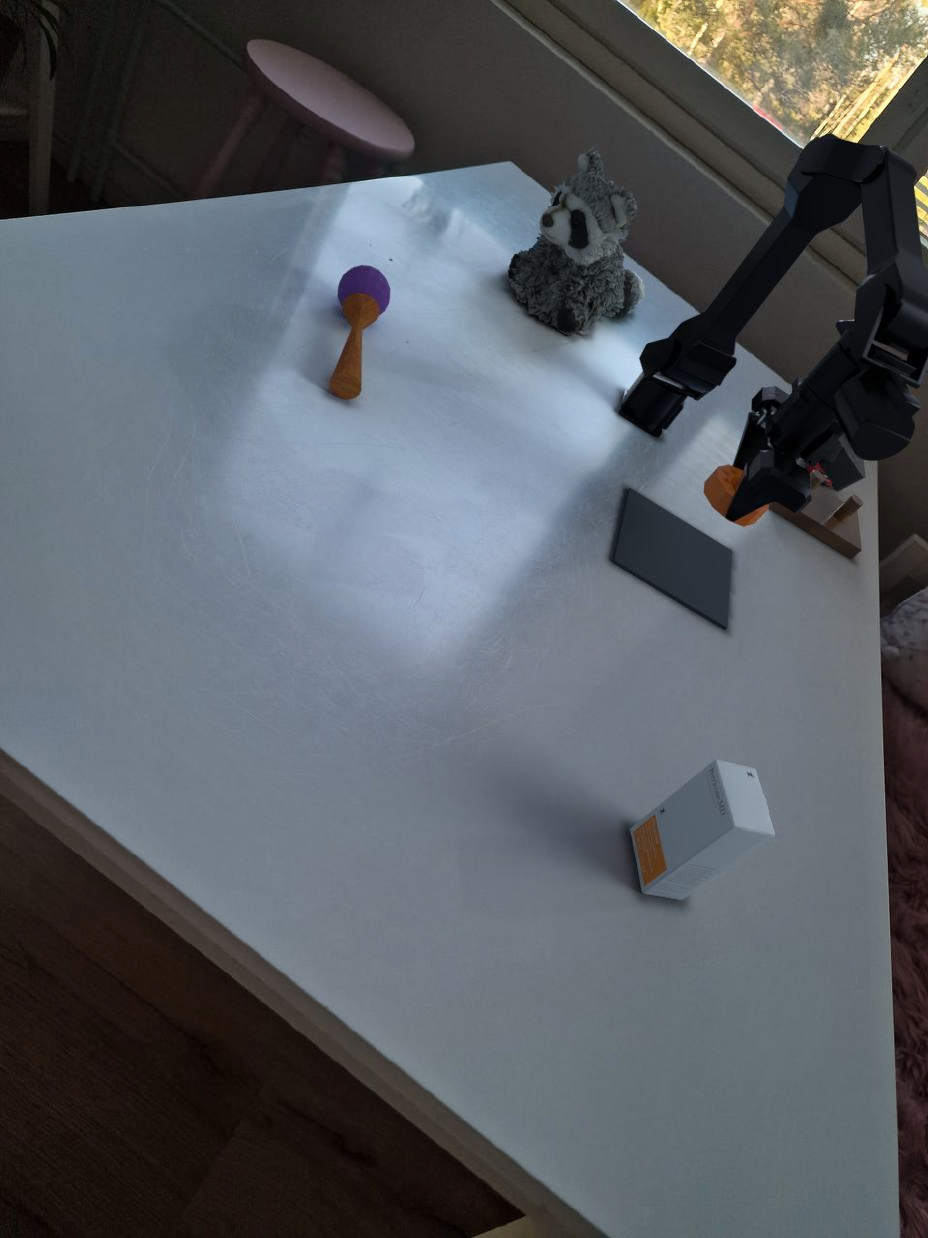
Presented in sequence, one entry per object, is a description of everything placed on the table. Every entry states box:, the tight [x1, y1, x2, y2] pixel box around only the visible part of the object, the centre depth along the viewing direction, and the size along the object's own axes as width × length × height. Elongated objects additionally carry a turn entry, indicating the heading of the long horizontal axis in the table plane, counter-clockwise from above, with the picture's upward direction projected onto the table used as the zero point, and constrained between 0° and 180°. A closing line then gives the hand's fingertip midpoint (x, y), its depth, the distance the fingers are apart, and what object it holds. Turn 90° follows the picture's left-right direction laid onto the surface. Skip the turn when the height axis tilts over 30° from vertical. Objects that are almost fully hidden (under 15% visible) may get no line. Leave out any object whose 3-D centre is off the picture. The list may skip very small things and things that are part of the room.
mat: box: [612, 487, 733, 630], centre depth 115 cm, size 15×15×1 cm
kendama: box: [329, 264, 391, 401], centre depth 108 cm, size 6×6×20 cm
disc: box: [703, 464, 770, 528], centre depth 109 cm, size 7×7×2 cm
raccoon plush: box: [507, 146, 646, 337], centre depth 138 cm, size 15×32×21 cm, turn 145°
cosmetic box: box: [629, 759, 776, 901], centre depth 79 cm, size 6×4×12 cm
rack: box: [768, 470, 864, 560], centre depth 137 cm, size 14×10×6 cm
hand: (730, 500), depth 109 cm, fingers closed on disc, 7 cm apart
